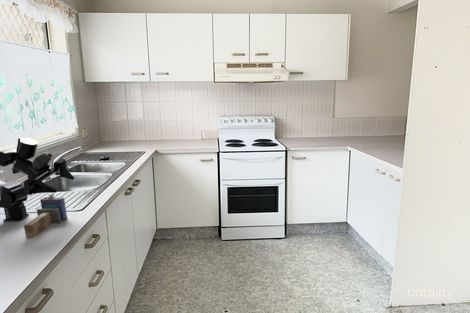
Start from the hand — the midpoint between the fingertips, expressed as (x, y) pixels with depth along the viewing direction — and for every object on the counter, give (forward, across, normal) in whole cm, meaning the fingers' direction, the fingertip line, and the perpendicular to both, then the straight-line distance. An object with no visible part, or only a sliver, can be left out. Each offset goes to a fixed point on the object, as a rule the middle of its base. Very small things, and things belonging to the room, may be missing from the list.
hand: (65, 184), depth 121 cm
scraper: (0, -12, +14) cm, 18 cm away
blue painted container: (-1, -4, +17) cm, 17 cm away
